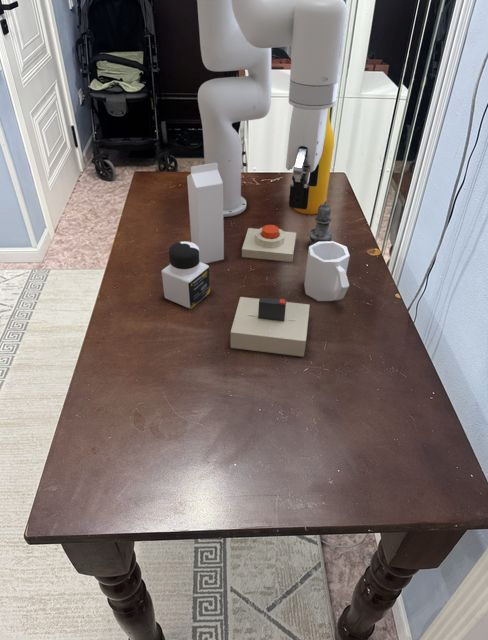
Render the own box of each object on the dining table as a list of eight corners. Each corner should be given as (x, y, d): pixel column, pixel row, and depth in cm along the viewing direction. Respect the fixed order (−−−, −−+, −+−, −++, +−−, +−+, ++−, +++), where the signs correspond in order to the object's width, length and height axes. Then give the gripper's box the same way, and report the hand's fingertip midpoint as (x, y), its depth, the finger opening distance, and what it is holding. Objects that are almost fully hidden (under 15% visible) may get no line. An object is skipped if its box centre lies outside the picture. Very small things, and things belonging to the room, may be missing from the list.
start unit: (241, 257, 117) (241, 242, 114) (248, 235, 124) (248, 221, 121) (292, 262, 116) (293, 247, 113) (295, 240, 123) (297, 225, 120)
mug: (297, 284, 109) (301, 245, 103) (330, 275, 112) (336, 237, 105) (324, 315, 102) (330, 276, 95) (359, 306, 104) (368, 266, 97)
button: (260, 238, 116) (261, 232, 115) (262, 230, 119) (263, 223, 118) (277, 240, 116) (278, 233, 115) (279, 231, 119) (279, 225, 118)
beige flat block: (230, 347, 94) (230, 331, 91) (240, 312, 102) (240, 295, 99) (303, 356, 93) (306, 340, 90) (307, 319, 101) (309, 303, 98)
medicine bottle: (190, 310, 102) (187, 260, 94) (163, 298, 105) (158, 249, 96) (210, 292, 106) (208, 244, 98) (184, 282, 109) (180, 233, 101)
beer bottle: (324, 200, 139) (340, 88, 119) (325, 216, 132) (342, 100, 112) (291, 198, 139) (301, 86, 119) (291, 214, 133) (301, 98, 113)
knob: (258, 318, 94) (258, 300, 91) (259, 313, 95) (259, 296, 92) (284, 321, 94) (285, 303, 91) (284, 316, 95) (286, 299, 92)
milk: (224, 259, 116) (223, 168, 101) (199, 265, 114) (195, 172, 99) (214, 246, 120) (213, 157, 105) (191, 251, 118) (185, 161, 103)
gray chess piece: (330, 254, 118) (337, 208, 110) (306, 251, 119) (311, 205, 111) (332, 242, 123) (339, 196, 114) (308, 239, 123) (314, 194, 115)
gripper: (300, 77, 85) (292, 175, 96) (277, 106, 72) (271, 214, 84) (343, 80, 83) (331, 179, 95) (328, 111, 71) (315, 220, 82)
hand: (303, 196), depth 89 cm, fingers open, 9 cm apart
